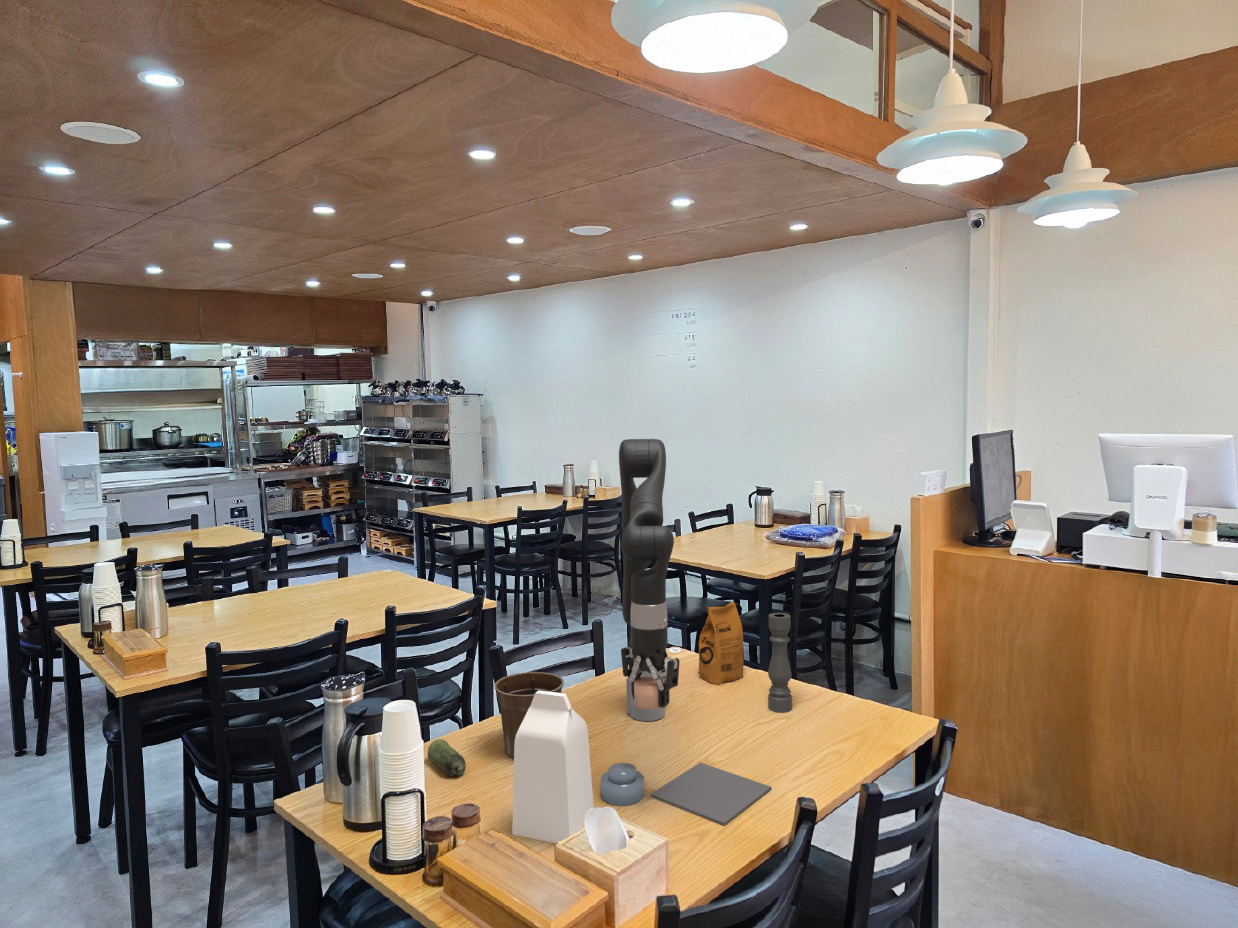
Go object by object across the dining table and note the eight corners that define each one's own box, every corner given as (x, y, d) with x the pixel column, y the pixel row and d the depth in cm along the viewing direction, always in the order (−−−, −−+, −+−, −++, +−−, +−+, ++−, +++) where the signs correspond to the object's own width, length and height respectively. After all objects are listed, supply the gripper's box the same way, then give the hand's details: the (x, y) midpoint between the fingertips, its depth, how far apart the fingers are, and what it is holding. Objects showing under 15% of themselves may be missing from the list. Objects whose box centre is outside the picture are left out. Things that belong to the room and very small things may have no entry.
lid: (628, 703, 158) (627, 682, 157) (648, 694, 163) (647, 674, 162) (652, 711, 154) (651, 689, 153) (671, 702, 158) (671, 680, 158)
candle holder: (793, 705, 205) (792, 613, 204) (790, 713, 200) (790, 619, 198) (769, 702, 208) (769, 611, 206) (766, 711, 202) (765, 617, 200)
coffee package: (694, 677, 228) (693, 604, 227) (726, 669, 235) (725, 598, 233) (715, 687, 220) (714, 611, 218) (748, 678, 226) (747, 605, 225)
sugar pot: (592, 796, 159) (591, 770, 158) (620, 779, 166) (619, 755, 165) (625, 810, 153) (624, 783, 153) (653, 792, 160) (652, 767, 159)
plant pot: (528, 729, 193) (527, 666, 192) (579, 744, 184) (577, 678, 183) (482, 753, 180) (479, 686, 179) (533, 771, 170) (531, 700, 169)
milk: (512, 834, 145) (508, 700, 143) (539, 804, 156) (536, 679, 154) (569, 845, 141) (566, 708, 139) (594, 814, 152) (591, 686, 150)
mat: (650, 796, 158) (650, 793, 158) (700, 764, 172) (700, 762, 172) (724, 825, 147) (724, 822, 147) (771, 789, 160) (771, 786, 160)
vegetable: (424, 760, 177) (423, 739, 177) (445, 754, 180) (445, 733, 180) (449, 783, 166) (448, 761, 165) (471, 776, 169) (470, 754, 168)
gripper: (610, 620, 159) (612, 699, 160) (665, 633, 149) (666, 716, 150) (634, 613, 164) (635, 689, 166) (688, 624, 155) (689, 705, 156)
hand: (650, 702), depth 158 cm, fingers closed on lid, 6 cm apart
